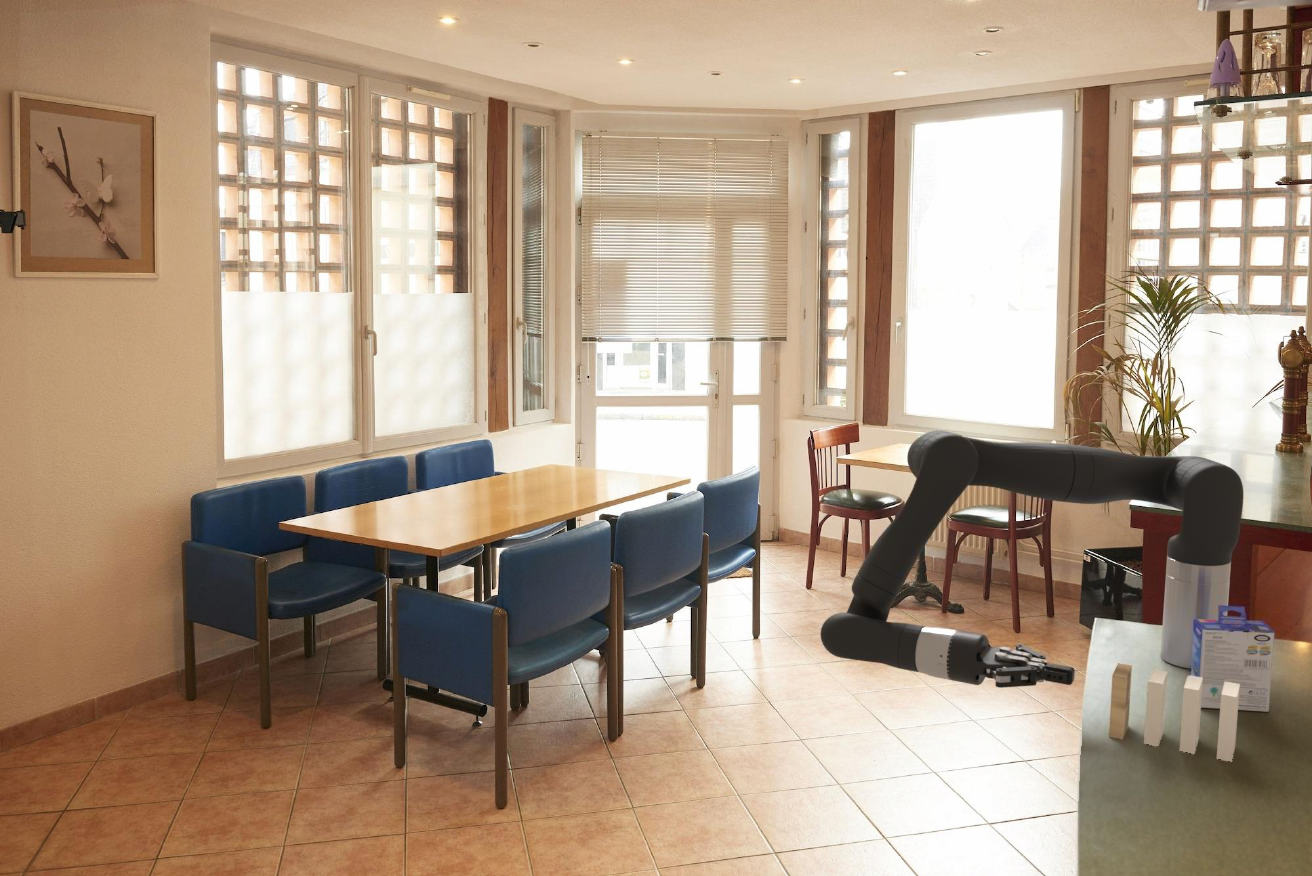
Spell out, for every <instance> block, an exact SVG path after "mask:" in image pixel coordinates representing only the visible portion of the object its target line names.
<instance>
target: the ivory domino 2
mask: <svg viewBox="0 0 1312 876" xmlns="http://www.w3.org/2000/svg"><path fill="white" fill-rule="evenodd" d="M1202 683H1203V678H1202V677H1196V676H1191V674H1190V675H1189V674H1188V675H1187V676H1186V679H1185V683H1184V686H1183V694H1182V708H1181V725H1180V739H1179V752H1180V751H1183V752H1182V753H1185V752H1188V753H1187V754H1189V753H1191V754H1190V755H1194V754H1196V752H1197V748H1196V747H1198V743H1199V741H1198V740H1199V739H1200V724H1201V711H1202V710H1201V709H1202V708H1201V698H1202Z"/></svg>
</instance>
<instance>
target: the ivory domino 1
mask: <svg viewBox="0 0 1312 876" xmlns="http://www.w3.org/2000/svg"><path fill="white" fill-rule="evenodd" d="M1167 683H1168V671H1167V670H1162V669H1155V668H1153V669H1152V671H1151V673H1150V676H1149V677H1148V680H1147V691H1146V705H1145V706H1146V707H1145V718H1144V719H1145V721H1144V736H1143V744H1144V745H1146V744H1149V745H1148V746H1151V745H1152V747H1156V746H1160V743H1161V741H1162V738H1163V735H1164V727H1165V714H1166V713H1165V712H1166V702H1167V701H1166V699H1167V685H1168V684H1167ZM1160 740H1161V741H1160Z"/></svg>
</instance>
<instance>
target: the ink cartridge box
mask: <svg viewBox="0 0 1312 876" xmlns="http://www.w3.org/2000/svg"><path fill="white" fill-rule="evenodd" d="M1225 611H1227V612H1229V611H1230V612H1232V611H1233V612H1237V613H1239V614H1240V616H1236V615H1227V616H1224V615H1223V612H1225ZM1275 635H1276V634H1275V630H1273V629H1272V628H1271V627H1270V626H1269V625H1268V624H1267V623H1266V622H1264V621H1263V620H1247V614H1246V609H1245V606H1237V605H1228V606H1223V605H1218V620H1211V619H1194V620H1193V647H1192V668H1191V671H1190V675H1191V676H1196V677H1202V678H1203V683H1202V698H1201V709H1204V708H1205V709H1216V710H1217V709H1218V710H1220V706H1221V694H1222V690H1223V686H1224V682H1225V681H1226V682H1231V683H1237V684H1240V690H1239V703H1238V711H1251V712H1265V713H1267V712H1270V711H1269V710H1270V698H1271V684H1272V666H1273V660H1274V659H1273V658H1274V657H1273V656H1274V645H1275V644H1274V643H1275Z"/></svg>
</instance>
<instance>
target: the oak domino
mask: <svg viewBox="0 0 1312 876" xmlns="http://www.w3.org/2000/svg"><path fill="white" fill-rule="evenodd" d="M1132 672H1133V666H1132V665H1130V664H1126V663H1124V664H1123V663H1120V662H1119V663H1117V664H1116V667H1115V669H1114V670H1113V673H1112V675H1111V692H1110V693H1111V694H1110V695H1111V696H1110V711H1109V712H1110V713H1109V728H1108V729H1109V730H1108V737H1109V738H1111V737H1114V738H1113V739H1116V738H1120V739H1119V740H1121V739H1123V738H1124V739H1125V737H1126V736H1125V735H1126V733H1127V732H1128V731H1127V730H1128V729H1129V720H1130V705H1131V702H1130V701H1131V687H1132V686H1131V685H1132ZM1124 739H1123V740H1124Z"/></svg>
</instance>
